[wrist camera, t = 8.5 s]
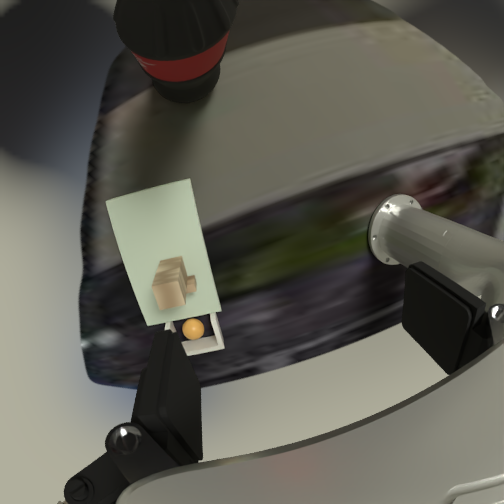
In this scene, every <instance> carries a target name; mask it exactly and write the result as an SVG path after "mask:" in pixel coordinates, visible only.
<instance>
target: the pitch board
mask: <svg viewBox="0 0 504 504" xmlns="http://www.w3.org/2000/svg"><path fill="white" fill-rule="evenodd" d="M106 205H107V209H108V213H109V216H110V220H111V223H112V227H113V230H114V234H115V237H116V240H117V243H118V247H119V250H120V253H121V256H122V259H123V262H124V265H125V268H126V271H127V274H128V276H129V279H130V282H131V285H132V287H133V290H134V293H135V295H136V298H137V301H138V303H139V306H140V308H141V311H142V313H143V316H144V318H145V321H146V323H147V325H148V326H149V325H155V324H160V323H165V322H171V321H176V320H181V319H186V318H190V317H195V316H200V315H205V314H209V313H214V312H219V311H221V306H220V302H219V298H218V294H217V291H216V287H215V283H214V279H213V275H212V271H211V267H210V263H209V259H208V255H207V250H206V246H205V242H204V238H203V234H202V229H201V225H200V221H199V216H198V212H197V207H196V203H195V198H194V193H193V189H192V184H191V179H190V178H188V179H184V180H180V181H176V182H171V183H167V184H163V185H159V186H156V187H152V188H148V189H144V190H141V191H137V192H133V193H130V194H126V195H123V196H119V197H116V198H113V199H109V200H107V201H106ZM178 256H182V258H183V262H184V265H185V269H186V272H187V276H192V275H195V279H196V282H197V289H196V292H191V293H187V294H186V305H183V306H178V307H173V308H168V309H163V310H160V309H159V306H158V304H157V301H156V298H155V295H154V293H153V290H152V287H151V286H152V283H153V280H154V277H155V274H156V271H157V268H158V265H159V262H160V261H161V260H165V259H170V258H174V257H178Z"/></svg>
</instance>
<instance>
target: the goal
mask: <svg viewBox="0 0 504 504" xmlns="http://www.w3.org/2000/svg"><path fill="white" fill-rule="evenodd" d="M210 319H211V323H212V326H213V330H214V333H215V335H214V336H209V337H205V338H200V339H196V340H190V341H184V342H181V343H182V345H183V347H184V349H185V352H186V354H187V356H190V355H195V354H200V353H206V352H210V351H215V350H220V349H225V348H224V341H223V336H222V333H221V329H220V326H219V322H218V319H217V315H216V312H214V313H210ZM168 329H170V330H171V331H172V332H176V329H175V327H174V324H173V321H171V322H166V325H165V330H168Z"/></svg>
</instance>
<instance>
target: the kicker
mask: <svg viewBox="0 0 504 504" xmlns="http://www.w3.org/2000/svg"><path fill="white" fill-rule="evenodd" d="M151 287H152V290H153V293H154V295H155V298H156V301H157V304H158V306H159V309H160V310H163V309H168V308H173V307H178V306H183V305H186V294H187V293H191V292H196V289H197V282H196V279H195V275H192V276H187V272H186V269H185V265H184V262H183V258H182V256H178V257H174V258H170V259H165V260H161V261H160V262H159V265H158V268H157V271H156V274H155V277H154V280H153V283H152V286H151Z"/></svg>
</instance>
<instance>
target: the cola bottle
mask: <svg viewBox="0 0 504 504" xmlns="http://www.w3.org/2000/svg"><path fill="white" fill-rule="evenodd" d="M238 5H239V1H238V0H117V2H116V6H115V10H114V15H113V19H114V21H115V23H116V29H117V32H118V35H119V37H120V39H121V40H122V42H123V43H124V44H125V46H126V47H127V48H128V49H129V50H131V51H132V53H133V54H134V56H135V57H136V58H137V60H138V62H139V65H140V67H141V68H142V70H143V71H144V72H145V73H146V74H147V75H148V76H149V77H150V78H152V81H153V84H154V87H155V88H156V90H157V91H158V92H159V93H160V94H161V95H162V96H163V97H164V98H166V99H168V100H170V101H173V102H178V103H189V102H194V101H197V100H199V99H201V98H203V97H204V96H206V95H207V94H208V93H210V92H211V90H212V89H213V88H214V87H215V85H216V83H217V81H218V79H219V75H220V62H221V61H222V59H223V57H224V54H225V51H226V45H227V37H228V34H229V30H230V28H231V26H232V24H233V22H234V19H235V15H236V10H237V6H238Z"/></svg>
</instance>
